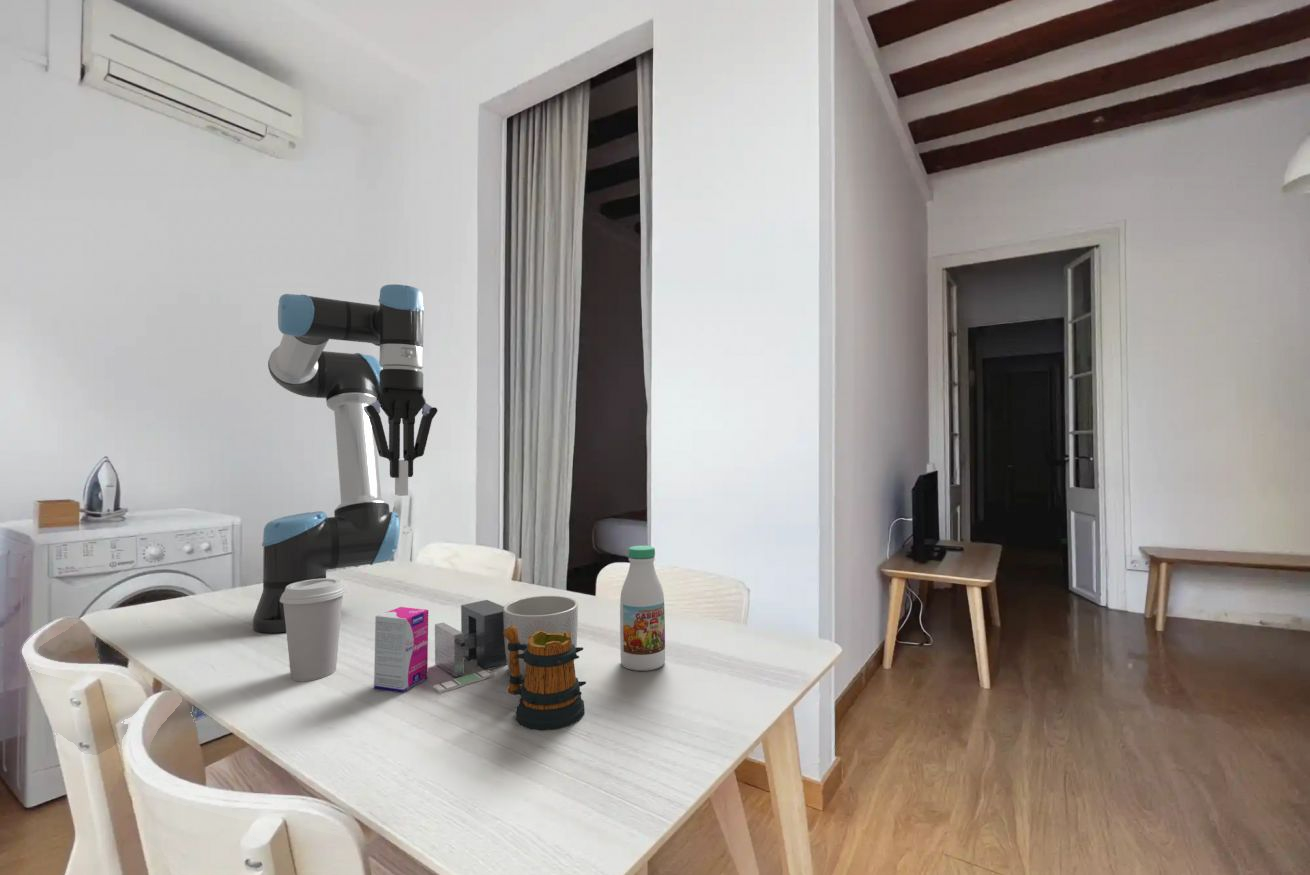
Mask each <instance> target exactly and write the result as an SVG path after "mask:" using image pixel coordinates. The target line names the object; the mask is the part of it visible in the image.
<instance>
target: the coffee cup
mask: <svg viewBox="0 0 1310 875" xmlns="http://www.w3.org/2000/svg"><path fill="white" fill-rule="evenodd" d="M346 593H347V590H346V588H345V586H344V585H343V584H342V582H341V579H338V578H332V577H331V578H329V577H328V578H327V577H326V578H322V579H311V580H305V581H300V582H295V583H292V584H289V585H287V586H286V588H285V591H284V593H282V596H281V598H280V602H281V603H283V606H284V615H285V624H286V632H285V633H286V642H287V652H288V661H289V671H290V679H291V680H293V681H295V682H310V681H315V680H320V679H324V678H326V677H328V676H330V675H331V676H332V674H333V673H335V672H336V671H337V663H338V652H339V641H340V639H339V638H340V629H341V621H342V620H341V618H342V611H343V610H342V608H343V597H344V596H345V594H346Z"/></svg>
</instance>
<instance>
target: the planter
mask: <svg viewBox="0 0 1310 875" xmlns="http://www.w3.org/2000/svg"><path fill="white" fill-rule="evenodd" d="M503 607H504V608H503V620H504V630H506V629H507V628H509V627H511V626H515V627H516V629H517V631H518V637H519V642H521V644H522V643H524V644H528V641H529V636H531V635H532V634H534V633H535V632H537V631H538V630H540V631H544V632H546V633H562V634H564V632H569V633H571V642H572V644H573V645H575V647H577V646H578V623H579V622H578V620H579V618H578V617H579V602H578V601H577V600H575V599H573V598H571V597H567V596H560V595H537V596H536V595H535V596H529V597H524V598H519V599H514V600H513V601H510V602H509V603H506V604H505V605H504V606H503ZM504 642H505V654H506V660H507V664H506V665H507V667H508V669H509V670H510V666H509V652H510V651H509V650H508V643H509V641H508V639H507V638H506V637H505V636H504ZM522 653H524V651H522V650H519V654H522ZM575 660H576V659H574V661H575ZM519 663H520V674H522V677H523V678H525V671H526V662H524V660H523V659H521V658H519Z"/></svg>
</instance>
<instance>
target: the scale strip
mask: <svg viewBox="0 0 1310 875" xmlns="http://www.w3.org/2000/svg"><path fill="white" fill-rule="evenodd" d="M493 677H495V674H494V673H493V672H492V671H490V669H489V670H481V671H478V672H475V673H470V674H467V675H463V676H461V677H460V676H459V677H457V678H455V679H451V680H448V681H445V682H441V683H439V684H435V685H433V688H432V689H433V690H435V691H437V693H439V694H441V693H442V694H443V692H447V691H452V690H454V689H458V688H461V687H463V686H467V685H470V684H473V683H476V682H480V681H482V680H486V679H489V678H493ZM457 687H458V688H457Z"/></svg>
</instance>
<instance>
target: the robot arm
mask: <svg viewBox="0 0 1310 875" xmlns="http://www.w3.org/2000/svg"><path fill="white" fill-rule="evenodd" d="M378 303H379V305H377V304H370V303H361V302H354V301H348V300H339V299H332V298H326V297H319V296H313V295H308V294H293V293H285V294H282V295H280V297H279V299H278V306H277V326H278V330H279V331H280V332H281V334H282V337H281V341H280V343H279V345H278V346H277V347H275V348H274V349H273V350H272V352H271V353H270V354H269V358H268V360H267V367H268V371H269V374H270V376H271V377H272V379H273V380H274V381H275V382H276V384H278V385H279V386H280V387H282V389H285V390H287V391H289V392H290V393H293V394H295V395H298V396H301V397H306V398H313V399H314V398H316V399H319V398H320V399H325V400H326V406H327V408H328V409H330V410H331V411H333V412H334V424H335V425H334V426H335V439H336V441H335V442H336V450H337V452H336V454H337V464H338V465H337V466H338V467H337V468H338V478H339V480H338V481H339V492H340V504H338V506H337V507H336V508H335V509H334V512H333V513H334V516H331V517H329V516H328V515H327V513H326V512H325V511H310V512H304V513H303V512H302V513H298V514H293V515H288V516H287V515H286V516H283V517H278V518H276V519H272V520H271V521H268V522H267V523H266V524H265V525H264V528H263V536H262V543H261V547H263V550H262V551H263V554H262V557H263V558H262V559H263V561H262V562H263V566H262V567H263V568H262V571H263V572H262V573H263V574H262V579H263V580H262V583H263V585H262V593H261V596H260V598H259V600H258V604H257V607H256V609H255V612H254V614H253V619H252V628H253V631H256V632H258V633H265V634H267V633H268V634H273V633H276V634H277V633H286V624H285V615H284V606H283V603H281V602H280V598H281V596H282V593H284V591H285V588H286V586H287V585H289V584H292V583H295V582H300V581H305V580H311V579H322V578H327V571H328V570H336V569H343V568H351V567H358V566H366V565H369V566H372V565H374V564H380V563H386V562H388V561H390V560H391V559H392V558H394V556H395V554H396V552H397V548H398V544H399V540H400V529H401V528H400V526H401V525H400V524H401V523H400V518H399V514H398V513H397V512H394V511H390V503H388V502H387V501H386V500H384V499H383V498H382V492H381V491H382V490H381V483H380V471H379V461H378V459H379V458H378V456H379V457H381V458H385V459H387V460H388V461H389V477H390V478H393V479H394V495H395V496H399V497H403V496H405V497H406V496H409V478H413V476H414V461H415V459H416V458H419V457H420V458H421V457H423V456H424V454H425V450H426V446H427V441H428V438H429V434H430V430H431V427H432V422H433V419H434V418H435V416H436V414H437V413H438V408H437V407H433V406H431V405H430V404H428V402H427V400H426V397H425V395H424V373H423V372H422V371H420V370H422V369H423V368H424V312H425V307H424V295H423V292H422V291H421V290H420V289H418V288H417V287H414V286H411V285H404V284H395V283H394V284H385V285H383V286H381V288H380V290H379V299H378ZM329 340H336V341H344V342H345V341H346V342H347V341H348V342H354V343H355V342H358V343H366V344H367V343H368V344H372V345H374V346H377V347H379V360H378V358H376V357H375V356H373V355H368V354H362V353H359V352H355V353H349V352H336V351H327V350H325V351H324V349H325V348H326V346H327V344H328V342H329ZM426 402H427V403H426ZM381 410H382V411H383V412H384V414H385V415H386V416H387V417H388V418H387V423H388V441H387V438H386V434H385V430H384V426H383V422H382V418H381V415H380V413H381ZM420 412H421V414H422V416H421V420H420V423H419V426H418V431H417V436H416V439H415V423H416V417H417V416H418V414H419V413H420ZM401 422H402V431H403V432H402V434H403V435H402V436H403V437H402V442H403V443H402V450H403V451H402V455H403V456H402V458H403V459H401Z"/></svg>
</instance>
